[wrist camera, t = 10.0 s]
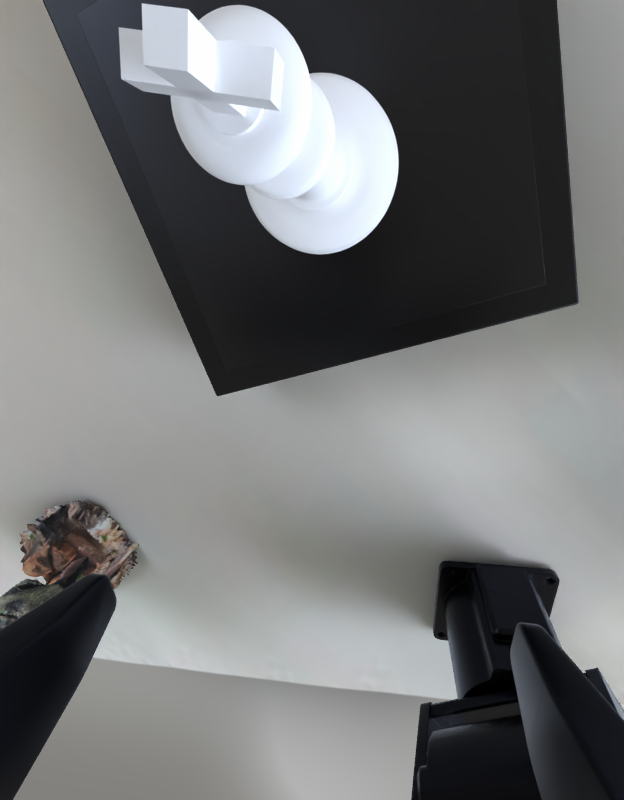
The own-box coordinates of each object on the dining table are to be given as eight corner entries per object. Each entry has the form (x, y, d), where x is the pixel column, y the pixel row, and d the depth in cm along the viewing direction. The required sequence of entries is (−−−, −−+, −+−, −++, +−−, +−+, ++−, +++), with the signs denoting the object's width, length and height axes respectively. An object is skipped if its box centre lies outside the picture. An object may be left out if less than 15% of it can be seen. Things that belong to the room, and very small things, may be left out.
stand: (536, 286, 17) (582, 305, 13) (245, 366, 20) (214, 399, 17) (487, -167, 12) (537, -351, 8) (117, 46, 16) (32, -12, 12)
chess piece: (253, 66, 12) (-179, -469, 3) (416, 88, 11) (559, -458, 2) (241, 241, 14) (-22, 272, 5) (379, 265, 13) (375, 348, 4)
